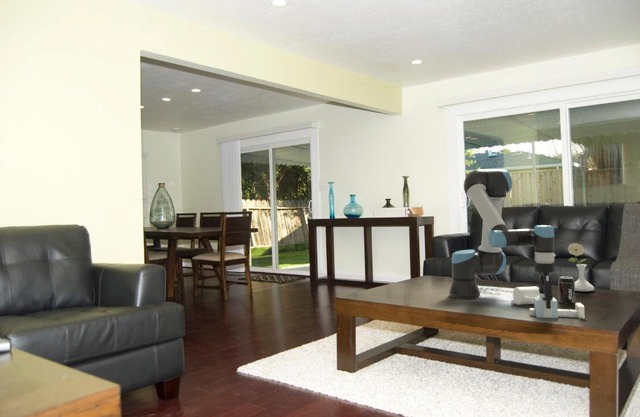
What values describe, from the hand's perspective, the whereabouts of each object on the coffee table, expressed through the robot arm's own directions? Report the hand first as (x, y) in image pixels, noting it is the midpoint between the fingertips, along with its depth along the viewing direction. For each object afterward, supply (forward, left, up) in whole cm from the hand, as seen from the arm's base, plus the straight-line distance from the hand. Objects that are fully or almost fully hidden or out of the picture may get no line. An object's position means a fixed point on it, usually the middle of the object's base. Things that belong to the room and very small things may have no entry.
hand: (545, 312), depth 209 cm
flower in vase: (+25, +60, -1) cm, 65 cm away
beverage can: (+13, +28, -1) cm, 31 cm away
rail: (+3, 0, -1) cm, 3 cm away
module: (0, 0, -1) cm, 1 cm away
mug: (-4, +21, -2) cm, 21 cm away
